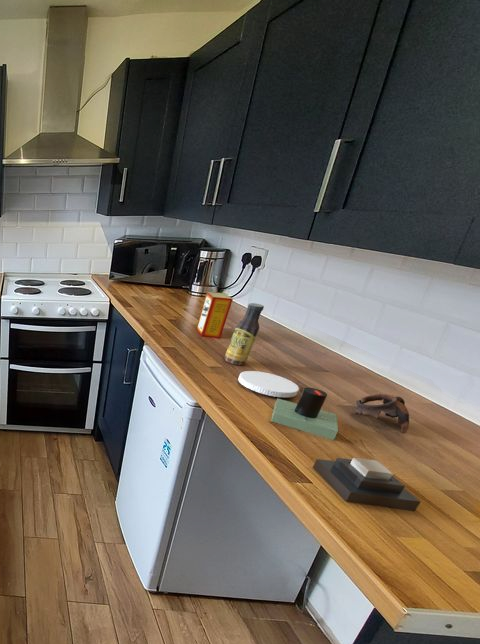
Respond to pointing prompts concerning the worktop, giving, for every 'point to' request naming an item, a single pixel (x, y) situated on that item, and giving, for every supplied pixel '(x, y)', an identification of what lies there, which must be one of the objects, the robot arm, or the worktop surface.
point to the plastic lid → (268, 384)
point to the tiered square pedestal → (364, 486)
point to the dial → (310, 402)
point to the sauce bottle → (244, 336)
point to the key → (371, 469)
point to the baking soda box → (214, 314)
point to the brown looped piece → (385, 408)
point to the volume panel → (305, 420)
